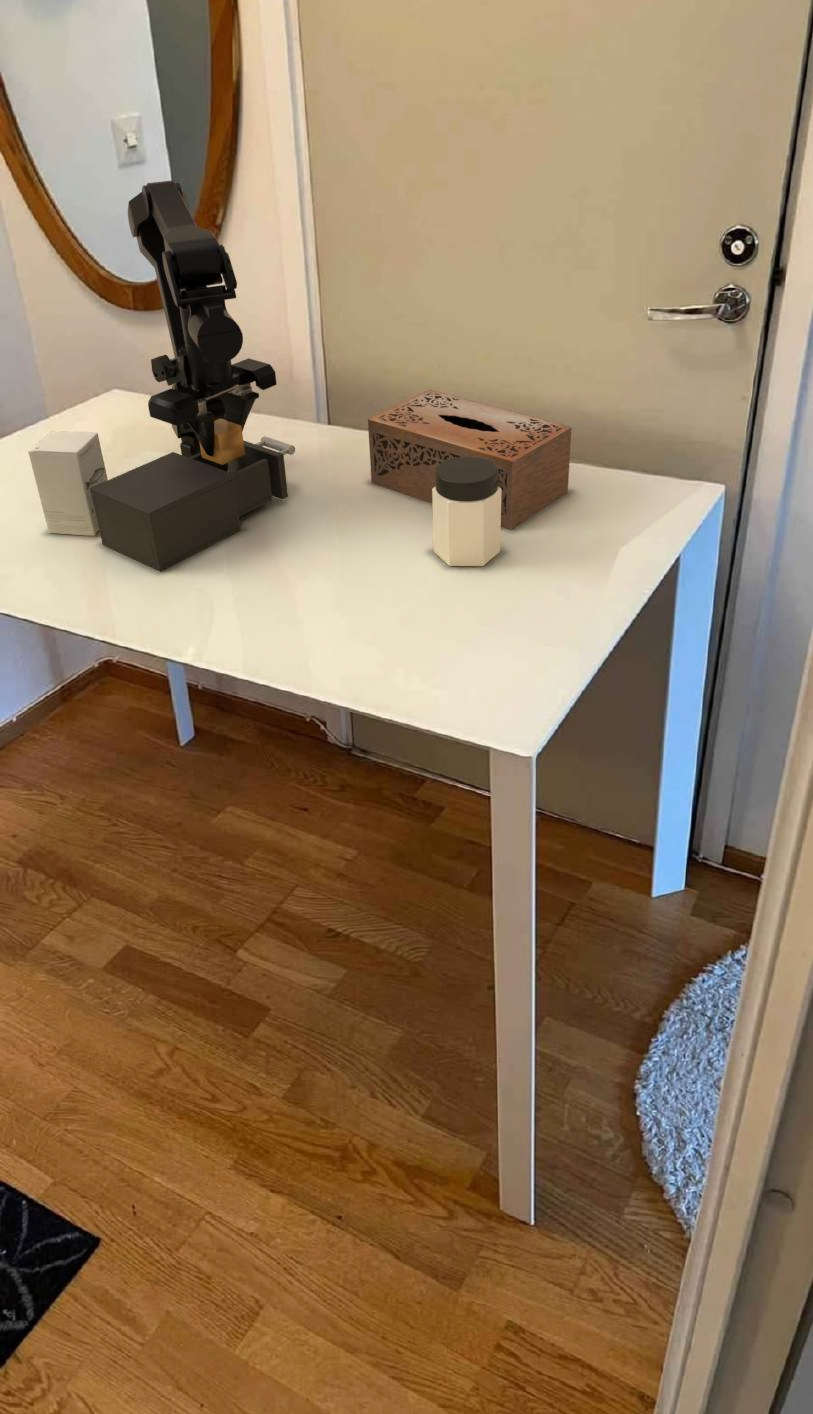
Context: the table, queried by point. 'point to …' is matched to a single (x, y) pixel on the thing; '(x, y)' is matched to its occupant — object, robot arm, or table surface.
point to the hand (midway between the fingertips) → (222, 449)
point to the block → (226, 442)
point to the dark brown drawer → (257, 473)
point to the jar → (466, 511)
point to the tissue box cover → (470, 450)
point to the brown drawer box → (166, 510)
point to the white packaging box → (68, 480)
